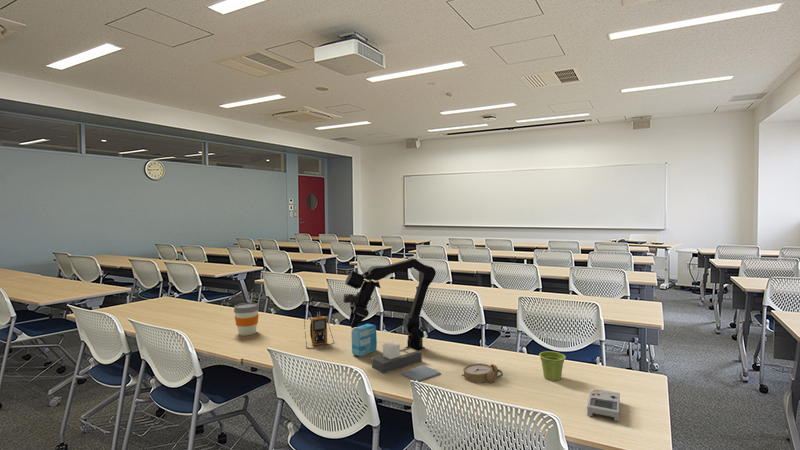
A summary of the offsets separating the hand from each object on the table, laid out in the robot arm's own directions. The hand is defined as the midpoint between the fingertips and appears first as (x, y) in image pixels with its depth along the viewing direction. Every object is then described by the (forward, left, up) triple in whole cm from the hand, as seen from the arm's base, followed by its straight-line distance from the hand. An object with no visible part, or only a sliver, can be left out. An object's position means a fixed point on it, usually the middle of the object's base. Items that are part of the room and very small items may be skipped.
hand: (350, 325), depth 185 cm
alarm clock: (-27, +52, -15) cm, 61 cm away
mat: (-11, +34, -14) cm, 39 cm away
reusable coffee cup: (+25, -68, -14) cm, 73 cm away
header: (-10, +20, -14) cm, 27 cm away
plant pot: (-47, +69, -14) cm, 85 cm away
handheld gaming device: (-38, +94, -15) cm, 102 cm away
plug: (-7, +20, -14) cm, 26 cm away
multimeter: (+4, -22, -14) cm, 26 cm away
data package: (-7, -1, -14) cm, 16 cm away
